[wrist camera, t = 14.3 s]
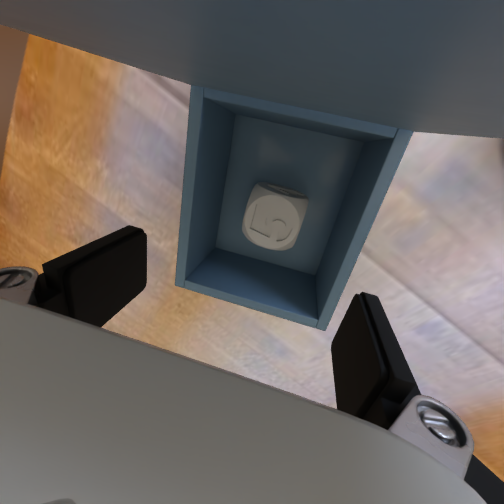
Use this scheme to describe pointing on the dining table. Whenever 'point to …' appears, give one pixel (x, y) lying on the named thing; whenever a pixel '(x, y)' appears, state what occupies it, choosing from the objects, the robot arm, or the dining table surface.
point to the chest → (285, 174)
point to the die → (274, 216)
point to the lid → (305, 52)
